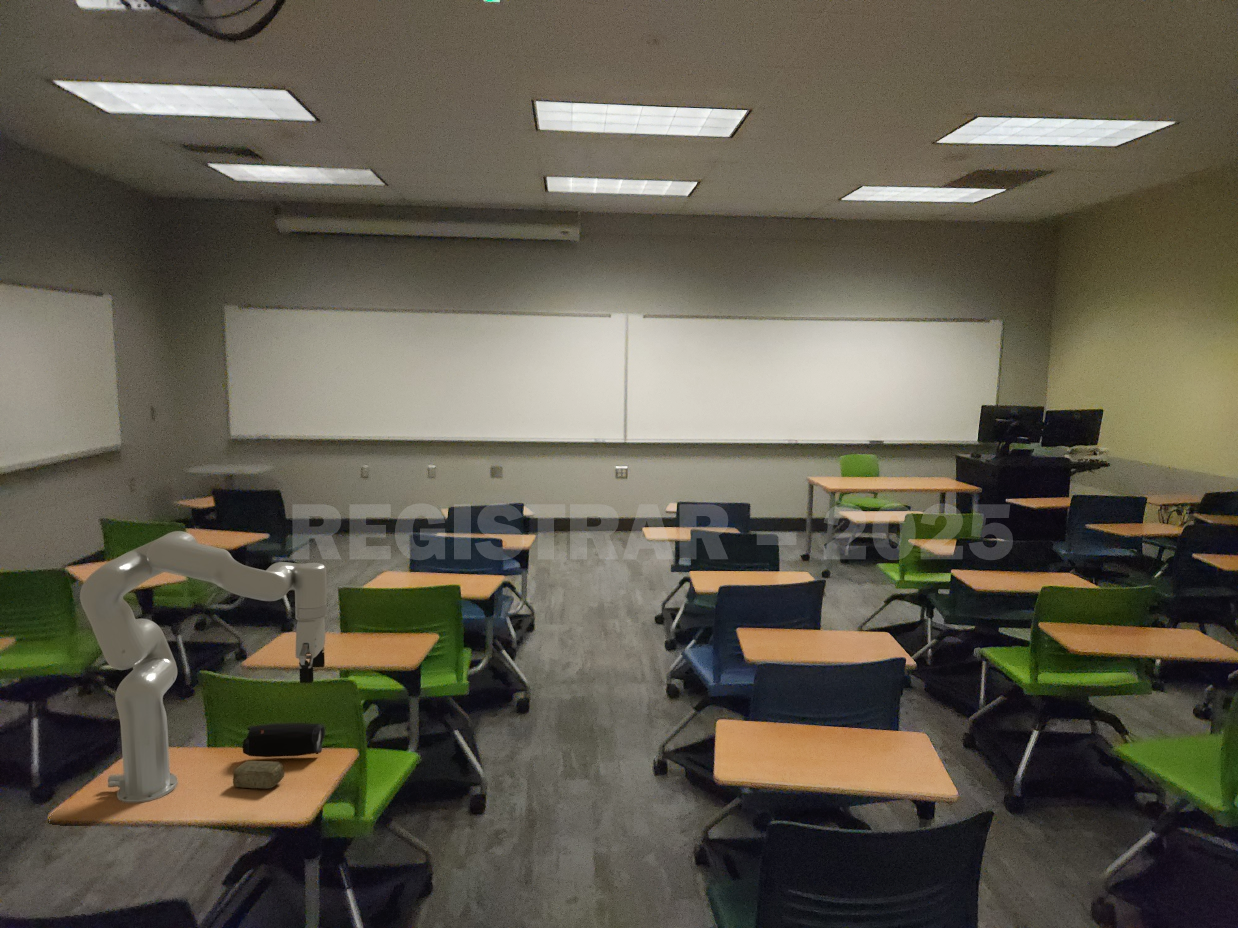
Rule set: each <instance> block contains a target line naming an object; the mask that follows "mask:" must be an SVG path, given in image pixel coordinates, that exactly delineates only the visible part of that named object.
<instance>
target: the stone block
mask: <svg viewBox="0 0 1238 928" xmlns="http://www.w3.org/2000/svg"><path fill="white" fill-rule="evenodd" d="M232 771H233V773H232V784H233V787H236V788H243V789H271V788H273V787H275V786H276V785H277V784H279V783H280V782H281V781H282V780H283V779H284V777H285V770H284V766H283V764H282V762H280V761H272V760H271V761H270V760H269V761H268V760H246V761H244V762H243V763H242V764H239V766H238V767H236V768H235V769H234V770H232Z"/></svg>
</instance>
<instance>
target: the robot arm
mask: <svg viewBox="0 0 1238 928" xmlns="http://www.w3.org/2000/svg"><path fill="white" fill-rule="evenodd" d="M162 573H168V574H172V575H176V576H181V577H187V578H192V579H196V580H200V581H204V582H209V583H211V584H215V585H216V586H217V587H219V588H221V589H224V591H227V592H229V593H232V594H234V595H236V596H239V597H244V598H249V599H253V600H258V601H264V602H275V601H278V600H281V599H283V598H284V597H285V596H286V595H287V594H288V592H289V591H292V590H294V602H295V603H294V606H295V611H294V612H295V613H294V614H295V619H296V620H297V623H296V631H295V658H296V659H298V668H299V683H300V684H311V683H314V668H324V667H326V666H325V664H326V663H325V661H326V659H325V658H326V657H325V646H326V645H325V644H326V625H325V624H326V623H325V622H326V621H325V619H326V617H328V593H327V592H328V591H327V587H328V586H327V567H326V566H325V565H324V564H323V563H319V562H307V563H295V562H294V563H293V562H285V561H278V562H275V563H273V564H271V565H270V566H269V567H268V568H267V569H266V570H264V569H259V568H255V567H251V566H248V565H246V564H245V565H244V564H242V563H240V562H239V561H237V560H236V559H234V558H233V556H232V554H231V553H230V552H229V551H228V550H227V549H225V548H221V547H217V546H212V545H207V544H202V543H198V541H197V539H196V538H195V536H194V535H192V534H191V533H189V532H186V531H182V530H175V531H171V532H168V533H166V534H165V535H163V536H161V537H158V538H156V539H154V540H151V541H150V542H148V543H145V544H144V545H141V546H139V547H137V548H134V549H131V550H129V551H127V552H125V553H124V554H122V555H120V556H118V557H116V558H114V559H111V560H110V561H108V562H106V563H105V564H103V565H102V566H100V567H99V568H97V569H96V570H94V571H93V572H92V573H91V574H90V575H89V576H88V577H87V578H86V580H85V581H84V582H83V584H82V585H81V589H80V592H79V593H80V594H79V599H80V604H81V606H82V610H83V611H84V613H85V615H86V617H87V619H88V621H89V623H90V625H91V628H92V630H93V634H94V636H95V638H96V640H97V643H98V646H99V648H100V649H101V652H102V655H103V657H104V659H105V661H106V663H107V664H108V665H109V666H110V667H111V668H113V669H114V670H119V671H124V670H125V671H126V670H130V669H132V670H131V671H130V672H129V673H128V674H127V675H126V676H125V677H124V678H123V679H122V681H121V682H120V683H119V685H118V686H117V689H116V692H115V696H114V697H115V699H114V700H115V705H116V706H115V707H116V709H117V713H118V716H119V717H118V718H119V722H120V737H121V750H122V751H121V752H122V753H121V754H122V769H123V774H118V773H117V774H109V776H108V778H107V783H108V784H107V787H108V788H118V790H117V793H116V797H117V800H119V801H120V802H122V803H128V804H137V803H138V804H139V803H145V802H150V801H154V800H155V801H156V800H158V799H160V798H162V797H165V796H166V795H168V794H170V793H172V792H173V790H175V788H176V787H177V785H178V777H177V775H175V774H174V773H171V771H170V768H171V767H170V753H169V752H170V751H169V749H170V748H169V733H168V732H169V730H168V717H167V712H166V709H165V705H164V701H163V700H164V699H163V698H164V695H165V694H166V693H167V691H168V690H169V689H170V688H171V687H172V686H173V684H174V683H175V681H176V679H177V676H178V667H177V662H176V660H175V658H174V655H173V653H172V650H171V648H170V645H169V643H168V641H167V637H166V636H165V634H164V632H163V630H162V628H161V627H160V626H159V625H158V624H157V623H156V622H154V621H153V620H151V619H148V618H136V617H135V614H134V611H133V609H132V607H131V606H130V605H129V603H128V602H127V601H126V600H125V599H124V597H125V595H126V594H128V593H129V592H131V591H133V590H134V589H135V588H137V587H139V586H140V585H142V584H143V583H145V582H146V581H149V580H151V579H152V578H155V577H156V576H159V575H161V574H162ZM308 660H309V661H308Z"/></svg>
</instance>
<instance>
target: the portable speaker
mask: <svg viewBox="0 0 1238 928" xmlns="http://www.w3.org/2000/svg"><path fill="white" fill-rule="evenodd" d="M247 731H248V733H247V737H246V738H244V739H243V742H242V753H243V754H244V755H246V756H249V757H259V758H274V757H275V758H277V757H279V758H280V757H299V756H307V755H312V754H314V755H318V754H321V753H322V751H323V748H322V747H323V743H324V738H325V736H326V728H325V725H324V724H321V723H312V722H311V723H309V722H307V723H306V722H284V723H281V722H280V723H277V722H276V723H268V724H267V723H266V724H258V725H249V727H247Z"/></svg>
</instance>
